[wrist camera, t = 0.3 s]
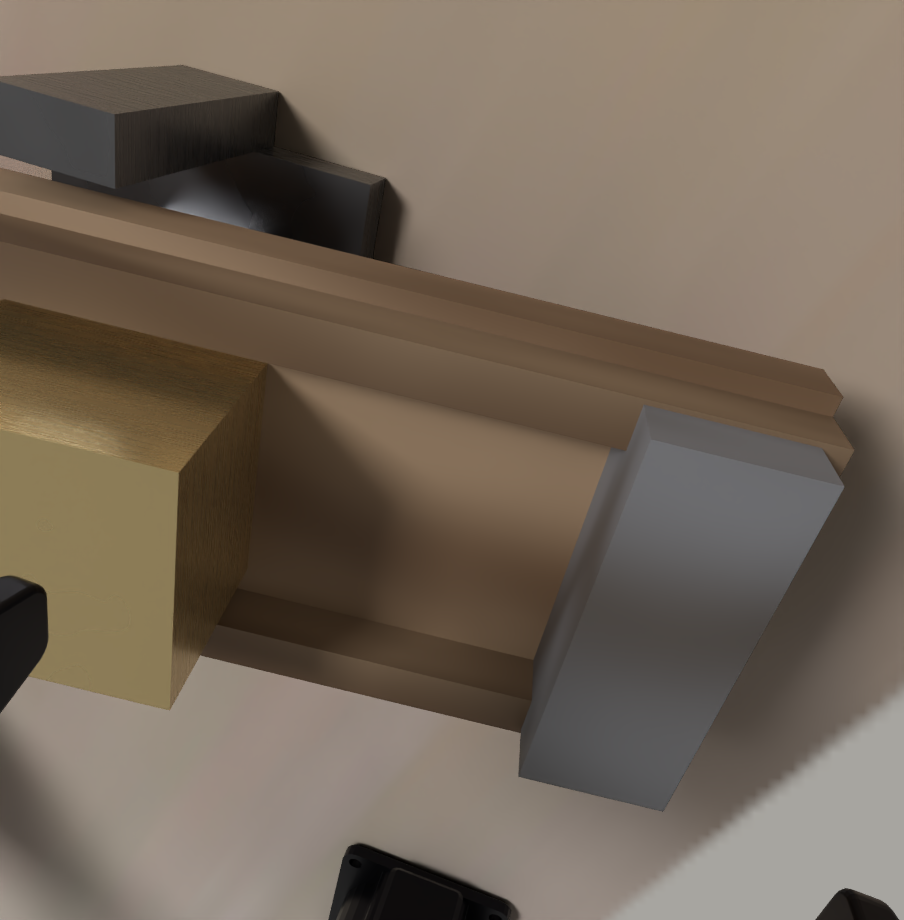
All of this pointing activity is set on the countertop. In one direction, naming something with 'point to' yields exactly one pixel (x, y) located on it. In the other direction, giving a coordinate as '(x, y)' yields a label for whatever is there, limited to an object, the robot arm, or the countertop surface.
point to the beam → (473, 482)
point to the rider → (124, 494)
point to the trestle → (186, 151)
